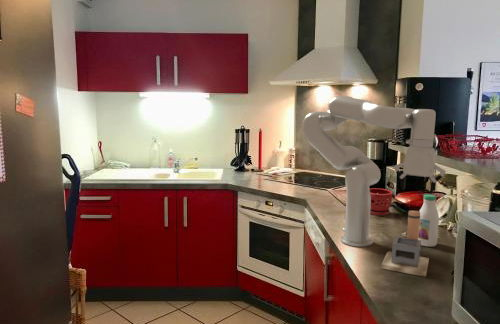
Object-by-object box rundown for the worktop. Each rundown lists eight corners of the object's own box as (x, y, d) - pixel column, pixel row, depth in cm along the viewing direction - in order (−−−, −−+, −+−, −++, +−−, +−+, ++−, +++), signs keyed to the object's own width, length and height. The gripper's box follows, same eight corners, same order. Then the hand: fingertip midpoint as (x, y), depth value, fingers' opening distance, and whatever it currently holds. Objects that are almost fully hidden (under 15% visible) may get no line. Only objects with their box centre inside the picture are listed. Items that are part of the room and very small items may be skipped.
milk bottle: (431, 240, 166) (434, 193, 163) (440, 247, 158) (444, 197, 155) (412, 240, 166) (416, 193, 163) (421, 247, 158) (424, 197, 155)
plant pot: (359, 211, 210) (360, 189, 209) (378, 209, 216) (379, 187, 214) (376, 218, 199) (378, 194, 197) (396, 215, 204) (398, 192, 202)
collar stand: (381, 268, 137) (382, 244, 136) (387, 255, 149) (388, 233, 148) (425, 276, 131) (427, 251, 129) (428, 262, 143) (430, 239, 142)
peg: (403, 251, 153) (405, 210, 151) (412, 250, 154) (415, 210, 152) (410, 255, 149) (413, 213, 147) (420, 254, 150) (423, 212, 148)
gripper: (393, 143, 144) (390, 189, 147) (447, 146, 136) (442, 196, 138) (398, 141, 151) (394, 186, 153) (449, 145, 142) (444, 192, 144)
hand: (417, 190), depth 146 cm, fingers open, 9 cm apart
